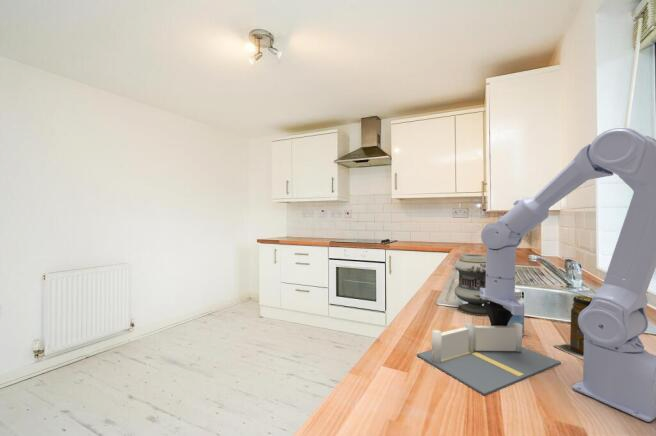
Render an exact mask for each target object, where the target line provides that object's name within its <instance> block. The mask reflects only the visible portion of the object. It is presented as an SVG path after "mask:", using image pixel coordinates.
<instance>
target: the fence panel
mask: <svg viewBox="0 0 656 436" xmlns="http://www.w3.org/2000/svg"><path fill="white" fill-rule="evenodd" d="M522 347H523V336H522V324H519V323H513V325H512V326H491V325H474V349H475V350H476V351H518V352H521V351H522Z"/></svg>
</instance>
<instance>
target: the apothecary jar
mask: <svg viewBox="0 0 656 436" xmlns="http://www.w3.org/2000/svg"><path fill="white" fill-rule="evenodd" d="M454 268H455V270H456V271H458V285H457V286H455V288H454V294H455V296H456V297H457V298H458V299H460V300H461V301H463V302H466V303H462V304H459V305H458V306H459V307H458V306H457V310H459V311H460V310H461V311H460V312H462V311H463V312H462V313H464V312H465V314H468V315H473V316H488V314H487V311H486V309H485V307H484V303H490V302H491V301H490V300H485V299H482V298H480V288H485V285H486V254H482V253H461V254H460V256H459V260H457V261H456V262H455V264H454Z"/></svg>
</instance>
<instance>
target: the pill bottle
mask: <svg viewBox="0 0 656 436" xmlns="http://www.w3.org/2000/svg"><path fill="white" fill-rule="evenodd" d="M521 296H522V290H521V289H519V288H518V289H517V288H515V298H516V299H517V300H518V302H519V303H520V304H521V305H523V306H524V307H525V302H524V301H523V299H521ZM513 323H519V324H522V337H523V336H524V334H525V315H524V316H523V315H513V316H512V317H511V319H510V320H509V322H508V325H507V326H512V325H513Z"/></svg>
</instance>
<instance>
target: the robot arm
mask: <svg viewBox="0 0 656 436" xmlns="http://www.w3.org/2000/svg"><path fill="white" fill-rule="evenodd" d="M614 174H615V175H617V176H618V178H620V179H621V180H622V181H623V183H625V184H626V185H627V186H628V187H629V188H630V189H631V190H632V191H633V193H632V197H631V199H630V203H629V206H628V209H627V212H626V215H625V218H624V221H623V224H622V226H621V230H620V232H619V236H618V238H617V241H616V244H615V248H614V250H613V253H612V256H611V258H610V261H609V264H608V265H609V266H608V268H607V270H606V274H605V277H604V279H603V283H602V284H601V286H600V287H599V288H598V290H597V291H596V292H595V293H594V295H593V296H592V297H591V298H592V301H591V303H590V305H589V306H588V307H586V308H585V309H583V310H582V311H581V312H580V314H579V317H578V324H579V327H580V329H581V331H582V333H583V334H584V360H583V371H582V372H583V374H582V375H583V376H582V380H581V381H579V382H577V383H575V384H573V385H572V386H571V388H572V389H573V390H574V391H576V392H578V393H580V394H583V395H586V396H588V397H590V398H591V399H595V400H597V401H599V402H601V403H604V404H606V405H608V406H610V407H613V408H616V409H618V410H619V411H622V412H624V413H626V414H629V415H631V416H633V417H634V418H638V419H639V420H643V421H645V422H648V423H650V422H652V421H654V419H656V355H654V354H653V353H651V352H649V351H647V350H645V345H644V343H643V342H642V340H641V338H640V336H641V335H643V334H645V332H646V331H647V330H648V328H649V320H648V316H647V314H646V310H647V309H646V308H647V305H648V302H649V300H648V297H647V291H648V289H649V286H650V284H651V281H652V278H653V275H654V273H655V270H656V139H655V138H654V137H651V136H648V135H644V134H641V133H640V132H639V131H638V130H635V129H634V128H633V129H632V128H630V127H626V126H625V127H624V126H623V127H621V126H619V127H613V128H609V129H607V130H604V131H603V132H601V133H599V134H598V135H597V136H596V137H595V138H594V139H593V141H592V142H591V143H587V145H585V146H584V147H582V148H581V149H580V150H579V151H578V153H577V154H576V155H575V157H574V158H573V159H572V160H571V161H570V162H569V163H568V164H567V165H566V166H565V167H564V168H563V169H562V170H561V171H560V172H559V173H557V175H556V176H555V177H554V178H552V179H551V180H550V181H549V182H548V183H547V184H545V185H546V186H544V187H543V188H542V189H541V190H539V192H538V193H537V194H536V195H535V196H533V197H524V198H522V199H517V200H515V201H514V202H513V206H512V207H511V209H509V210H508V211H507V212H506V213H505V214H504V215H503V216H501V215H500V216H499V217H498V218H497V222H489V223H487V224H485V226H484V227H483V228H482V231H481V234H480V238H481V241H482V243H483V245H484V246H485V249H486V250H485V251H486V252H485V255H486V285H485V288H480V298H482V299H485V300H490V301H491V302H490V303H484V304H483V306H484V307H485V309H486V311H487V314H488V315H487V316H488V319H489V322H490V326H507V325H508V322H509V320H510V319H511V317H512V316H513V315H523V316H524V317H525V305H524V306H523V305H521V304H520V303H519V302H518V300H517V299H516V298H515V289H516V259H517V258H516V255H517V248H518V247H519V246H520V245H521V243H522V241H523V238H524V237H525V236H526V235H527V234H528V233H530V232H531V231H532V230H534V229H535V228H536V227H538V226H540V224H542V223H543V222H544V221H546V219H548V218H549V214H550V211H549V209H550V208H551V207H553V206H554V205H555V204H557V203H558V202H560V201H561V200H562V199H564V198H565V197H567V196H568V195H569V194H571V193H572V192H573V191H575V190H576V189H578V188H579V187H580V186H582V185H583V184H584V183H586V182H587V181H589V180H594V179H600V178H606V177H611V176H614Z"/></svg>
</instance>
